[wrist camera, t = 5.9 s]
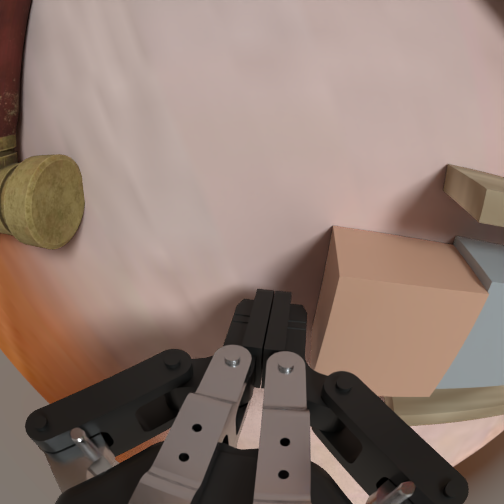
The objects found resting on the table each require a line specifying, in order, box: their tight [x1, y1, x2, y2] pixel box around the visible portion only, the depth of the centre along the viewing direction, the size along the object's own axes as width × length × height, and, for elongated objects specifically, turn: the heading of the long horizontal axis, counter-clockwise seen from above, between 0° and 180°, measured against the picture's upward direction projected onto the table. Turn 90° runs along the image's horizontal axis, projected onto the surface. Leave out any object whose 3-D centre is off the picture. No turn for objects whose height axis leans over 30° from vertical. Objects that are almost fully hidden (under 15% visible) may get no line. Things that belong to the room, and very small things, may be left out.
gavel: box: [0, 0, 85, 249], centre depth 10 cm, size 21×5×10 cm
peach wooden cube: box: [310, 226, 489, 397], centre depth 12 cm, size 6×6×4 cm
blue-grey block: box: [435, 236, 504, 389], centre depth 12 cm, size 6×6×4 cm
